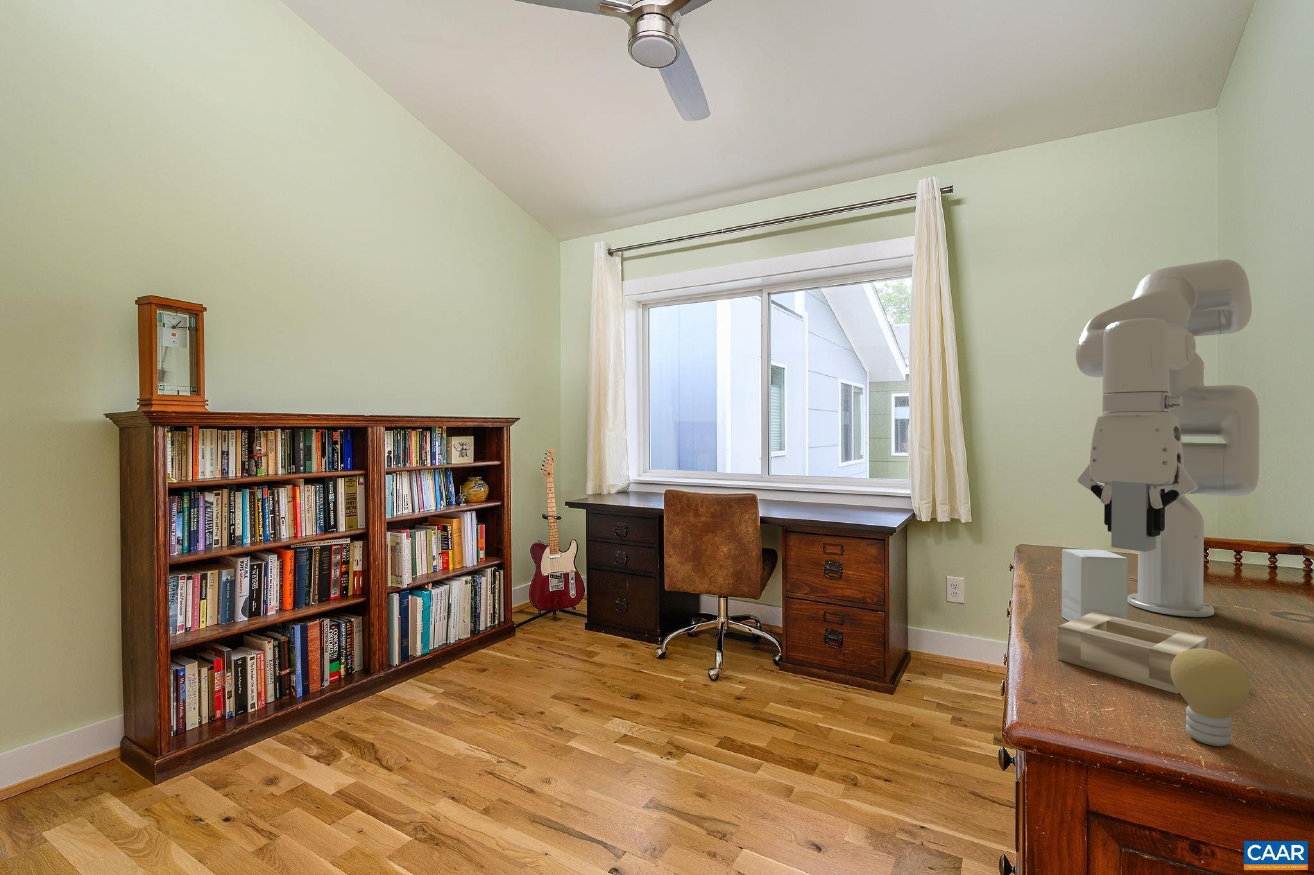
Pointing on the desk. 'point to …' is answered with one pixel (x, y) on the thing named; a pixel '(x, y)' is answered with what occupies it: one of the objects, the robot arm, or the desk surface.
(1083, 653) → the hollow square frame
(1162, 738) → the desk surface
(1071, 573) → the supplement box
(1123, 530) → the grey rectangular prism
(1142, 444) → the robot arm
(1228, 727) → the light bulb
